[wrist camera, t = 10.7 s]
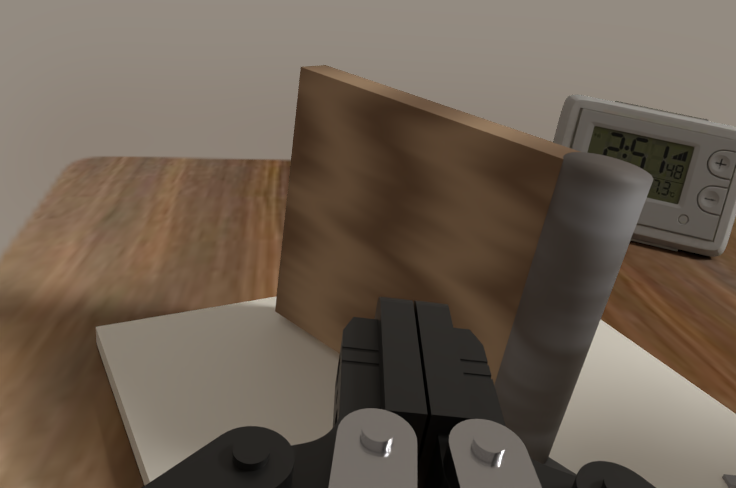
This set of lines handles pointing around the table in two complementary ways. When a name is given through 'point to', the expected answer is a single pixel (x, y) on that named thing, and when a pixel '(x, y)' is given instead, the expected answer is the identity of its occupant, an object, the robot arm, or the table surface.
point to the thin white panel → (317, 389)
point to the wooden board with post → (455, 234)
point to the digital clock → (664, 168)
